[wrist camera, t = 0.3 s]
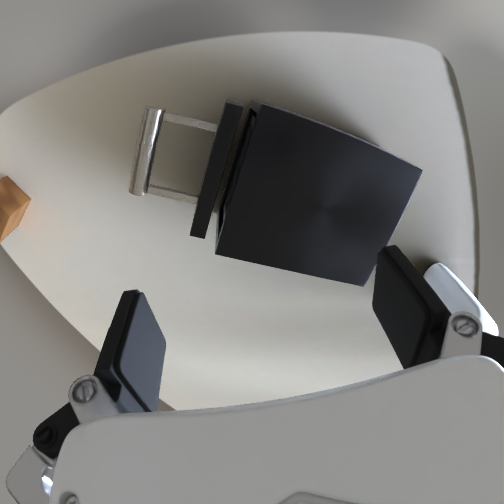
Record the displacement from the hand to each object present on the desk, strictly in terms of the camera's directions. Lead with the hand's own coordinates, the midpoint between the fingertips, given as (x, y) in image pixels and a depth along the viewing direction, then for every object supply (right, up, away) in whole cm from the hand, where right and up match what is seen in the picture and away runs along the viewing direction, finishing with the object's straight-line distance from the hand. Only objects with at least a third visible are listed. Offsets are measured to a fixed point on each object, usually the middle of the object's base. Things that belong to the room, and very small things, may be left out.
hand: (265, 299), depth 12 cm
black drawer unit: (+4, +9, +17) cm, 20 cm away
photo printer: (+27, -2, +26) cm, 38 cm away
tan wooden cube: (-28, +8, +15) cm, 33 cm away
